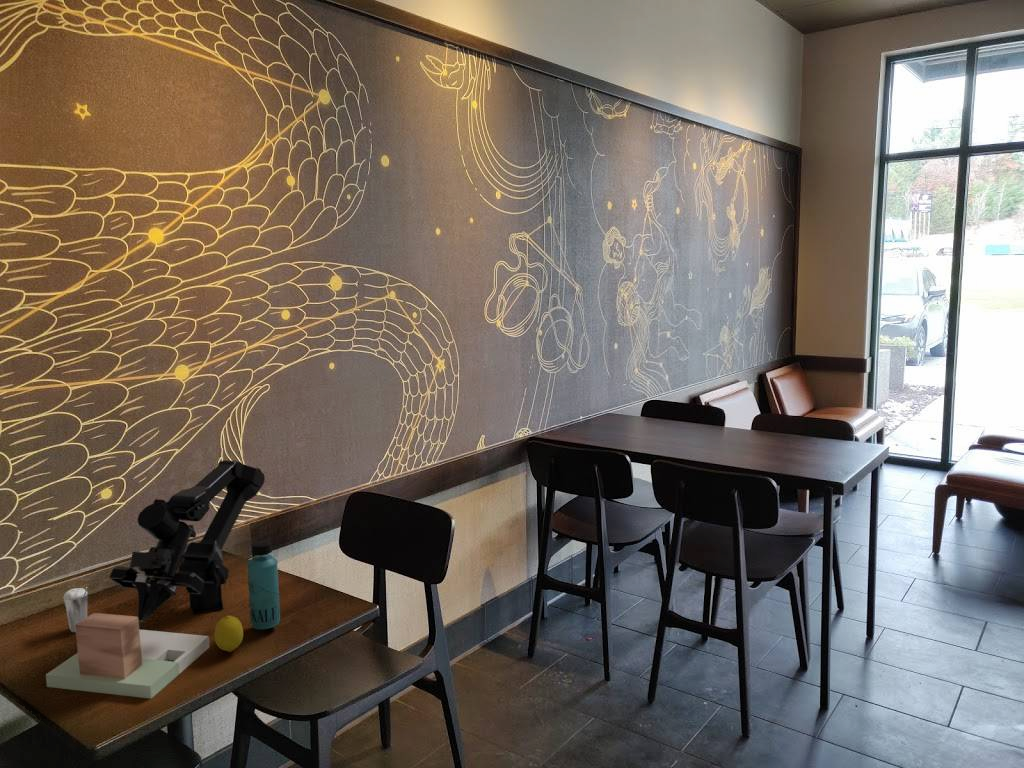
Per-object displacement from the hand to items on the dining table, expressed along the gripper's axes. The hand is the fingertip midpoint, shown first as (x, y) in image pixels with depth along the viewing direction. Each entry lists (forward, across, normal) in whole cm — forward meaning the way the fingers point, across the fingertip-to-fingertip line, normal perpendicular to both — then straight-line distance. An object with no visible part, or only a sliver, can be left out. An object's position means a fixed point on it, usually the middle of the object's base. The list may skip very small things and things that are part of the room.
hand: (140, 620), depth 152 cm
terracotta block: (+10, 0, -3) cm, 11 cm away
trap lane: (+8, 0, +3) cm, 9 cm away
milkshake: (0, -21, +11) cm, 24 cm away
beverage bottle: (-5, +19, +17) cm, 26 cm away
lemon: (+2, +16, +9) cm, 19 cm away
